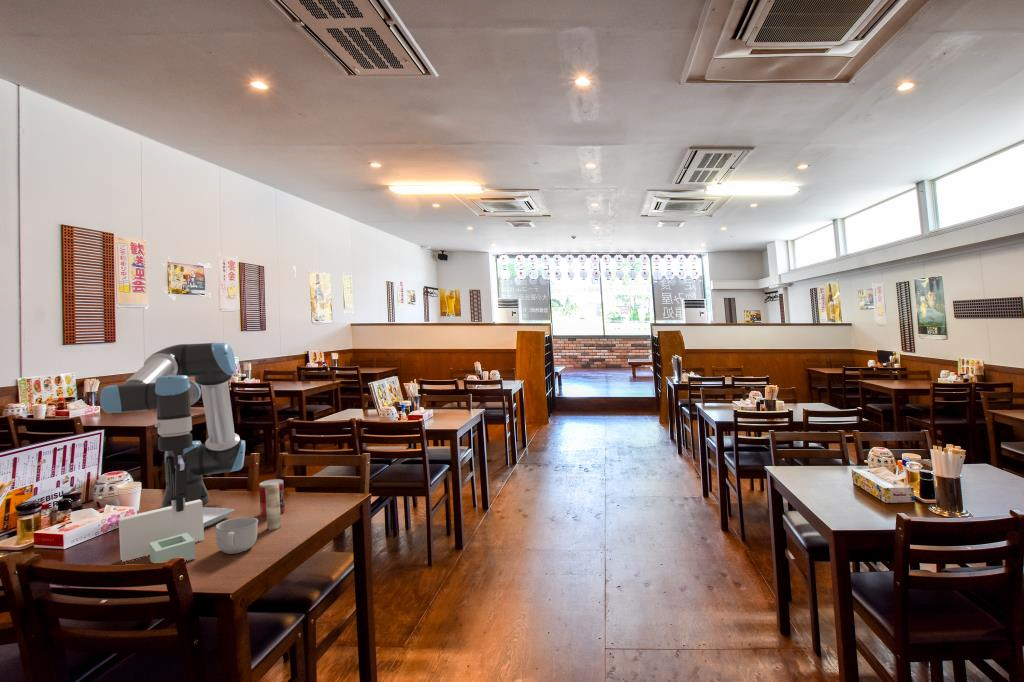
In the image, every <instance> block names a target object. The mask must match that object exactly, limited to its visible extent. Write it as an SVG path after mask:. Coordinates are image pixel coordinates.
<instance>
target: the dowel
mask: <svg viewBox="0 0 1024 682" xmlns="http://www.w3.org/2000/svg"><path fill="white" fill-rule="evenodd" d="M265 492H266V512H267V517H266V528H267V529H269V530H268V531H273V530H272V529H276V530H278V529H277V528H279V529H280V528H281V527H282V520H281V514H280V496H279V483H271V484H267V485H265ZM267 529H266V530H267ZM270 529H271V530H270Z"/></svg>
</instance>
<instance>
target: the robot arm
mask: <svg viewBox="0 0 1024 682" xmlns="http://www.w3.org/2000/svg"><path fill="white" fill-rule="evenodd" d="M236 367H237V365H236V358H235V354H234V351H233V349H232V347H231V345H230V344H228V343H226V342H216V341H215V342H210V343H208V342H207V343H189V344H188V343H187V344H186V343H184V344H183V343H182V344H174V345H171V346H167V347H165V348H163V349H162V348H161V349H160V350H158V351H156V352H154V353H152V354H151V355H150V356H148V357H147V358H146V360H145V361H144V362H143V366H142V367H140V369H138V370H137V371H136V372H134V374H132V375H131V376H130V377H129V378H127V380H125V381H124V382H123V383H122V384H114V385H113V384H112V385H107V386H104V387H102V389H101V391H100V396H99V402H100V407H101V409H102V411H103V412H105V413H106V414H107V413H108V414H115V413H116V414H117V413H118V414H122V413H131V412H132V413H133V412H142V411H155V410H156V421H157V423H154V427H155V428H157V434H158V435H159V436H158V438H157V447H158V451H160V452H164V461H163V462H164V471H165V472H164V473H165V491H164V494H163V497H162V500H161V507H160V508H165V507H169V506H172V521H173V524H174V525H176V524H179V523H183V522H186V511H185V503H186V502H190V501H195V500H199V499H200V500H201V501H202V506H204V505H205V503H206V504H208V502H209V501H210V495H209V491H208V490H207V488H206V485H205V483H204V479H203V476H207V475H214V474H215V475H216V474H222V473H231V472H236V471H237V472H238V471H240V470H242V468H243V467H244V462H245V455H246V454H245V452H246V440H243V439H241V438H240V435H239V434H237V433H235V426H234V418H233V411H232V410H233V409H232V402H231V396H230V388H229V381H230V380H232V378H233V375H234V374H236V370H237V368H236ZM190 378H194V381H192V380H190ZM201 397H202V402H203V408H204V415H205V422H206V428H207V435H208V438H207V439H206V440H205V442H204V444H203V443H202V442H201V440H193V433H192V432H191V431H192V430H193V423H192V422H193V421H192V411H191V410H192V409H191V406H193V405H195V404H196V403H197V402H198V401H199V400H200V398H201Z"/></svg>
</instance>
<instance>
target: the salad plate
mask: <svg viewBox="0 0 1024 682" xmlns="http://www.w3.org/2000/svg"><path fill="white" fill-rule="evenodd" d="M234 511H235V509H234V508H223V507H207V506H205V507H203V526H204V529H205V527H206V528H207V526H208V527H209V526H212V525H214V524H217V523H218V522H220V521H222V520H224V519H226V518H227V517H229V516H231V514H233V512H234Z"/></svg>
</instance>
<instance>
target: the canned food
mask: <svg viewBox="0 0 1024 682" xmlns="http://www.w3.org/2000/svg"><path fill="white" fill-rule="evenodd" d="M271 483H279V496H280V513H282V512H283V513H284V512H285V511H286V507H285V505H286V504H285V485H284V484H285V483H284V479H279V478H278V479H277V478H276V479H275V478H274V479H273V478H272V479H267V480H264V481H262V482H259V484H258V490H259V491H258V493H259V508H260V509H259V511H260V512H259V513H260V515H261V516H262V515H263V516H262V517H264V516H267V512H266V492H265V485H267V484H271ZM283 513H282V514H283Z"/></svg>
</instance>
